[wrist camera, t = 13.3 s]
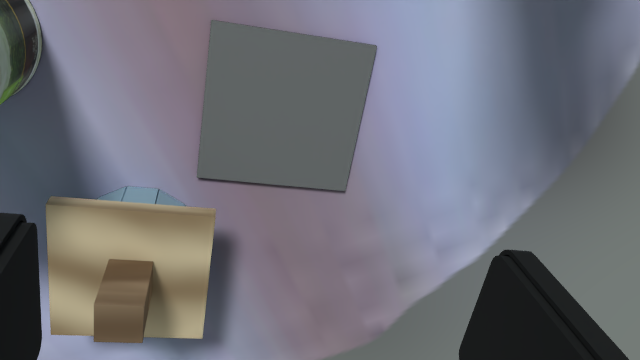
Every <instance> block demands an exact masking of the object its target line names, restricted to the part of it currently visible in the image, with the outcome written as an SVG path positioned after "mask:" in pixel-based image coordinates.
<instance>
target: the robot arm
mask: <svg viewBox="0 0 640 360" xmlns="http://www.w3.org/2000/svg"><path fill="white" fill-rule="evenodd" d="M41 340H42V330H41V307H40V285H39V262H38V240H37V227H36V224H35V223H27V221H26V218H25V216H24V215H23V214H9V213H0V360H37V358H38V355H39V352H40V347H41ZM459 360H629V359H628V358H627V357H626V356H625V354H624V353H623V352H622V351H621V350H620V349H619V348H618V347H617V346H616V345H615V343H614V342H613V341H612V340H611V339H610V338H609V337H608V336H607V335H606V333H605V332H604V331H603V330H602V329H601V328H600V327H599V326H598V325H597V323H596V322H595V321H594V320H593V319H592V318H591V317H590V316H589V315H588V314H587V312H586V311H585V310H584V309H583V308H582V307H581V306H580V305H579V304H578V302H577V301H576V300H575V299H574V298H573V297H572V296H571V295H570V294H569V293H568V291H567V290H566V289H565V288H564V287H563V286H562V285H561V284H560V283H559V281H558V280H557V279H556V278H555V277H554V276H553V275H552V274H551V273H550V272H549V271H548V269H547V268H546V267H545V266H544V265H543V264H542V263H541V262H540V260H539V259H538V258H537V257H536V256H535V255H534V254H533V253H532V252H529V251H517V250H504V251H502V252H501V253H500V255H499V256H495V257H494V258H493V260H492V262H491V265H490V267H489V270H488V273H487V276H486V278H485V281H484V284H483V286H482V289H481V292H480V294H479V297H478V300H477V303H476V305H475V308H474V311H473V313H472V316H471V319H470V321H469V324H468V327H467V330H466V332H465V335H464V338H463V341H462V343H461V346H460V349H459Z"/></svg>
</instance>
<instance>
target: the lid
mask: <svg viewBox="0 0 640 360" xmlns="http://www.w3.org/2000/svg"><path fill="white" fill-rule="evenodd" d="M215 213H216V209H212V208H199V207H186V206H173V205H160V204H147V203H134V202H121V201H108V200H95V199H82V198H69V197H56V196H51V197H50V198H49V200H48V201H47V203H46V227H47V251H48V276H49V300H50V324H51V335H82V336H94V342H123V343H142V342H143V337H158V338H196V339H202V337H203V327H204V318H205V309H206V299H207V290H208V281H209V272H210V262H211V253H212V244H213V234H214V225H215Z"/></svg>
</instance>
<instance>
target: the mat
mask: <svg viewBox="0 0 640 360" xmlns="http://www.w3.org/2000/svg"><path fill="white" fill-rule="evenodd" d="M376 49H377V46H376V45H371V44H364V43H358V42H351V41H345V40H338V39H332V38H326V37H319V36H313V35H306V34H300V33H293V32H287V31H280V30H274V29H267V28H261V27H254V26H248V25H241V24H235V23H229V22H222V21H216V20H211V29H210V40H209V51H208V61H207V72H206V83H205V94H204V105H203V115H202V126H201V137H200V148H199V158H198V169H197V177H198V178H209V179H219V180H230V181H241V182H252V183H263V184H274V185H284V186H295V187H306V188H317V189H328V190H339V191H345V189H346V185H347V180H348V176H349V171H350V166H351V162H352V157H353V153H354V148H355V144H356V139H357V135H358V130H359V126H360V121H361V117H362V112H363V108H364V103H365V99H366V94H367V90H368V85H369V81H370V76H371V71H372V67H373V62H374V58H375V53H376Z"/></svg>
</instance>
